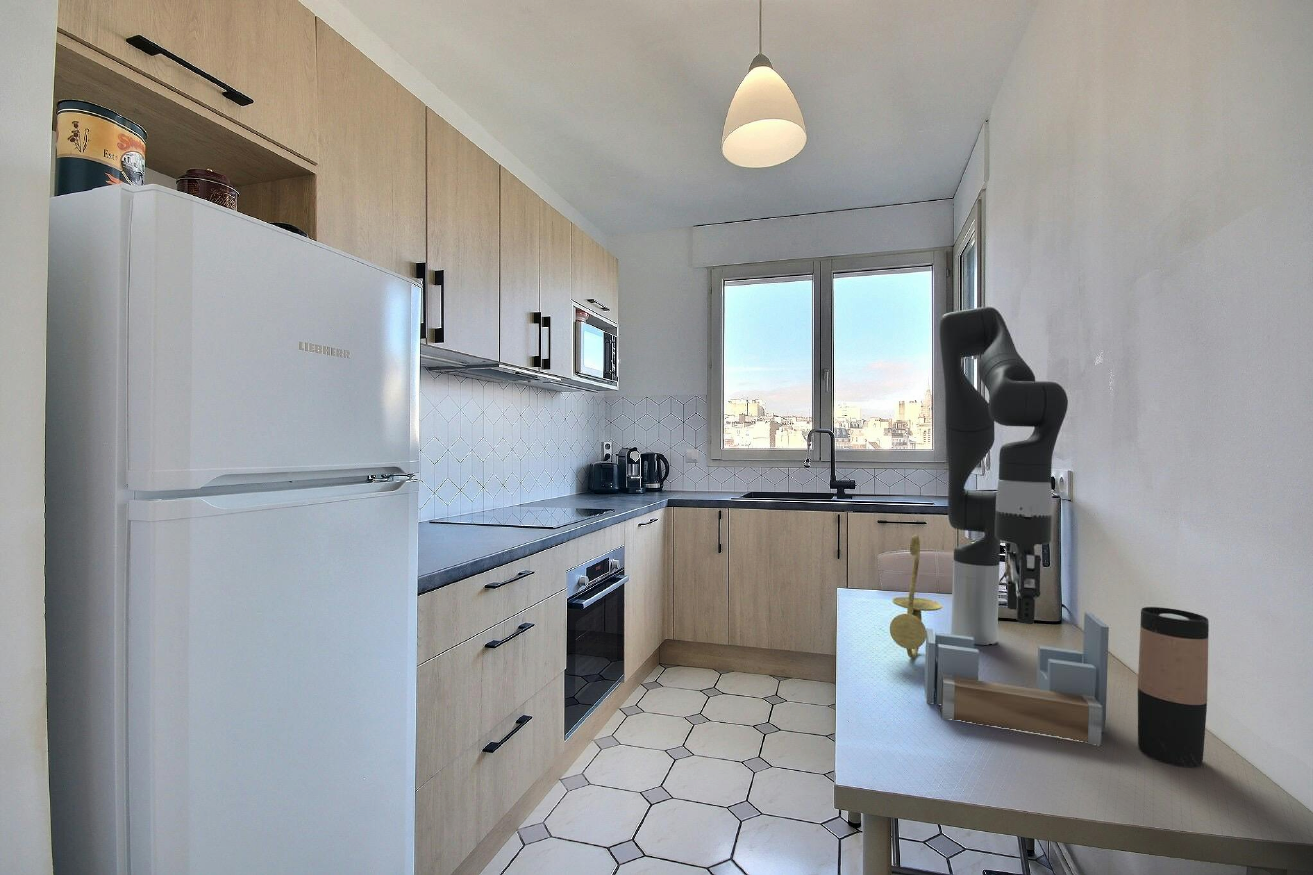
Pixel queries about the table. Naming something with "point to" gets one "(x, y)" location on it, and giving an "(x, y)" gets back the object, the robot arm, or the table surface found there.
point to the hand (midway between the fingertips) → (1019, 615)
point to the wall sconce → (912, 611)
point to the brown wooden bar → (1022, 708)
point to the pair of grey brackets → (1054, 664)
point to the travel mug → (1172, 685)
